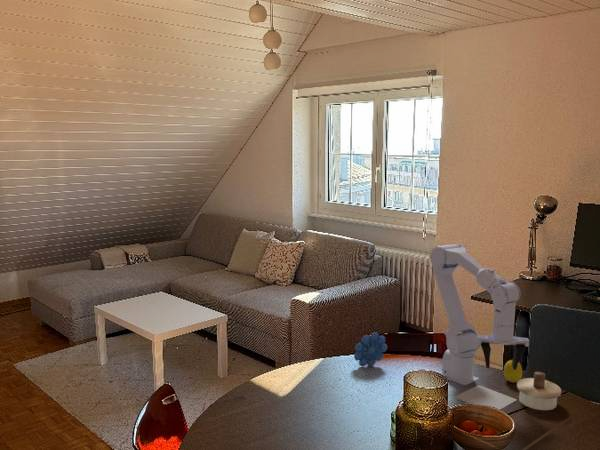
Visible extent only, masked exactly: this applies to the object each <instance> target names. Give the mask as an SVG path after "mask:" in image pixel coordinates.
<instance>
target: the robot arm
mask: <svg viewBox="0 0 600 450" xmlns="http://www.w3.org/2000/svg"><path fill="white" fill-rule="evenodd" d="M429 259H430V263H431V265H432V269H433V274H434V278H435V281H436V282H435V283H436V285H437V288H438V290H439V295H440V297H441V301H442V305H443V307H444V310H445V313H446V317H447V320H448V323H449V327H448V328H447V330H446V331H445V337H446V340H445V342H446V347H447V349H446V350H445V351H444V353H443V355H442V369H441V371H442V372H441V375H442V374H443V375H445V376H446V377H447V378H448V380H450V381H453V382H455V383H457V384H460V385H462V386H467V385H469V384H471V383H473V382H476V381H478V380H479V377H476V376H474V374H475V373H474V372H475V371H474V370H475V356H476V354H477V351H478V350H479V349H480V347H481V350H482V353H483V356H484V360H485V361H484V362H485V367H486V368H487V369H490V364H491V363H490V359H491V353H492V352H491V350H492V348H491V345H502V346H513V347H512V349H513V353H512V360H513V361H512V367H513V369H514V370H516V368H517V365H518V362H519V363H520V361H521V358H522V357H523V355H524V354H525V352H526V350H527V349H526V347H530V339H529V338H528V337H522V336H521V337H520V336H515V335H514V332H515V320H516V319H515V317H516V302H518V301H519V300H520V299H521V296H522V295H521V294H522V293H521V288H520V287H519V286H518V285H517V283H516V282H514V281H507V280H506V279H505V278H504V277H501V276H500V275H499V274H498V273H496V272H495V270H494V269H493V268H492V267H491V268H489V267H485V268H484V267H483V266H481V265H480V264H479V262H477V261H476V260H475V259H474V258H473V256H471V255H470V254H469V253H468V251H467V249H466V248H465V247H464V246H463V245H462V244H460V243H454V244H446V245H435V246H433V247H432V250H431V252H430V254H429ZM459 266H460V267H461V268H462V269H464V270H465V271H467V272H469V273H470V274H471V275H473V276H474V277H475V280H476V284H478V285H479V286H480V287H481V288H482V289H484V290H485V291H487V292H488V293H489V294H490V297H491V300H492V304H493V305H492V306H493V309H494V310H493V326H492V334H485V335H479V333H478V332H477V330H476V328H475V325H473V324H472V323H470V322H468V321H467V318H466V315H465V312H464V309H463V306H462V302H461V299H460V296H459V292H458V290H457V286H456V282H455V280H454V277H453V274H454V272H455V270H456V269H457V268H458V267H459ZM445 376H444V377H445ZM447 378H446V379H447Z"/></svg>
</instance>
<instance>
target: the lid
mask: <svg viewBox="0 0 600 450" xmlns="http://www.w3.org/2000/svg"><path fill="white" fill-rule="evenodd" d="M516 388H517V390H518V391H519V392H520V391H521V392H522V393H524V394H526V395H529V396H532V397H536V398H542V399H553V398H557V399H558V398H559V397H560V396H561V395H562V389H561V387H560V386H559V385H558V384H556V383H555V382H552V381H549V380H547V379H546V373H544V372H542V371H535V372H534V373H533V377H527V378H526V377H525V378H521V379H520V380H519V381H517V382H516Z"/></svg>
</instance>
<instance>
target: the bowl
mask: <svg viewBox="0 0 600 450" xmlns="http://www.w3.org/2000/svg"><path fill="white" fill-rule="evenodd" d="M518 399H519V402H520V404H522V405H524V406H525V407H528V408H530V409H533V410H538V411H539V410H540V411H550V410H551V411H552V410H554V409H555V408H557V405H558V397H557V398H553V399H542V398H536V397H532V396H529V395H526V394H524V393H522V392H521V391H519V396H518Z"/></svg>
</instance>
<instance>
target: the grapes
mask: <svg viewBox="0 0 600 450" xmlns="http://www.w3.org/2000/svg"><path fill="white" fill-rule="evenodd" d="M360 341H361V342H358V343H356V345H355V347H354V349H355V353H354V356H353V358H354V361H358V364H359V366H360V367H366V365H367V366H368V367H373V366H374V365H375V364H376V362H380V361H382V360H383V358H384V353H385V352H386V351H387V350H388V344H387V343H385V342H386V337H385V336H384V335H379V333H378V332H375V331H374V332H371V334H370V335H368V334H365V335H363V336H362V337H361V340H360Z"/></svg>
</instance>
